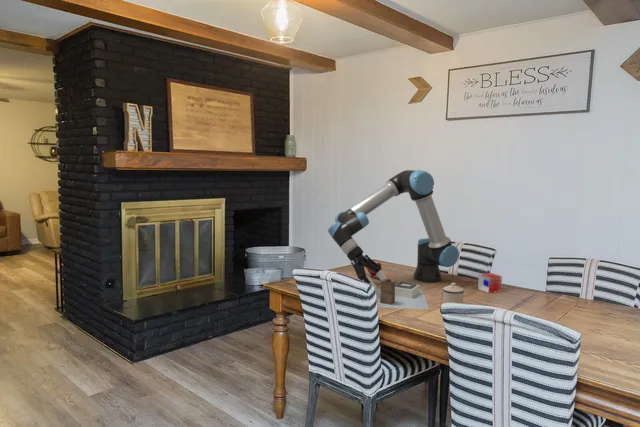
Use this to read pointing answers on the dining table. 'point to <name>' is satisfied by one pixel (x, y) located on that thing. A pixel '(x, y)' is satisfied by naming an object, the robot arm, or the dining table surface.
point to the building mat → (404, 301)
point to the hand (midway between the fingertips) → (380, 286)
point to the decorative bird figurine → (373, 271)
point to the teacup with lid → (452, 293)
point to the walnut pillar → (387, 291)
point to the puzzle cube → (489, 282)
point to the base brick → (406, 289)
